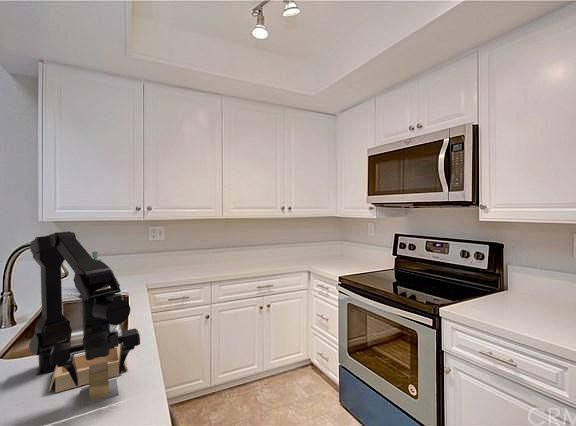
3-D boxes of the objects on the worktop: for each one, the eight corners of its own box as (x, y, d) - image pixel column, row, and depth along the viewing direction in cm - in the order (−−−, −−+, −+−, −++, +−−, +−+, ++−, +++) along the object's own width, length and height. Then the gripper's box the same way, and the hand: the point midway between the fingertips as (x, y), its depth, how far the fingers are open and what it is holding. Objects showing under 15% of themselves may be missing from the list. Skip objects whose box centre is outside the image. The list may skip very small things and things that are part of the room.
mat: (81, 392, 80) (81, 388, 80) (116, 381, 85) (116, 378, 84) (80, 408, 74) (79, 404, 73) (118, 396, 78) (118, 392, 78)
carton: (54, 372, 90) (53, 359, 90) (124, 355, 100) (123, 342, 100) (48, 397, 78) (47, 381, 78) (128, 375, 88) (127, 360, 88)
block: (90, 386, 81) (89, 363, 81) (108, 381, 83) (107, 358, 83) (89, 400, 75) (88, 376, 75) (109, 395, 77) (108, 371, 77)
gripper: (44, 337, 66) (48, 410, 66) (141, 318, 76) (144, 382, 76) (51, 322, 75) (54, 385, 76) (136, 306, 85) (138, 363, 86)
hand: (99, 379), depth 78 cm, fingers open, 9 cm apart
